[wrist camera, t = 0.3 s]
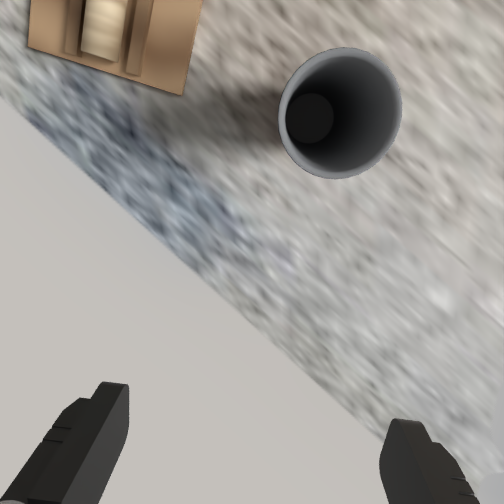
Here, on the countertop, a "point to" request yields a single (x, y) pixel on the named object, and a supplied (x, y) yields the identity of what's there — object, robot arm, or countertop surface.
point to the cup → (340, 113)
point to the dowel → (104, 28)
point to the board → (124, 38)
